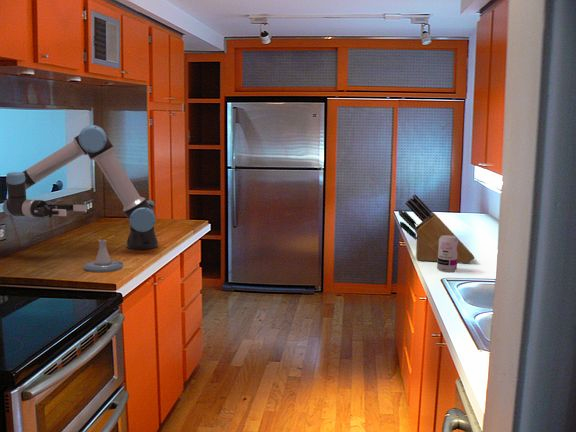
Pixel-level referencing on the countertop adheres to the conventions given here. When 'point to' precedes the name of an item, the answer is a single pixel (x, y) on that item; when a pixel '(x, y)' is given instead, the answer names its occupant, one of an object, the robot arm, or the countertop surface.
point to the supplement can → (447, 253)
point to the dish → (103, 266)
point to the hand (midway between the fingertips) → (76, 210)
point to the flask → (102, 254)
